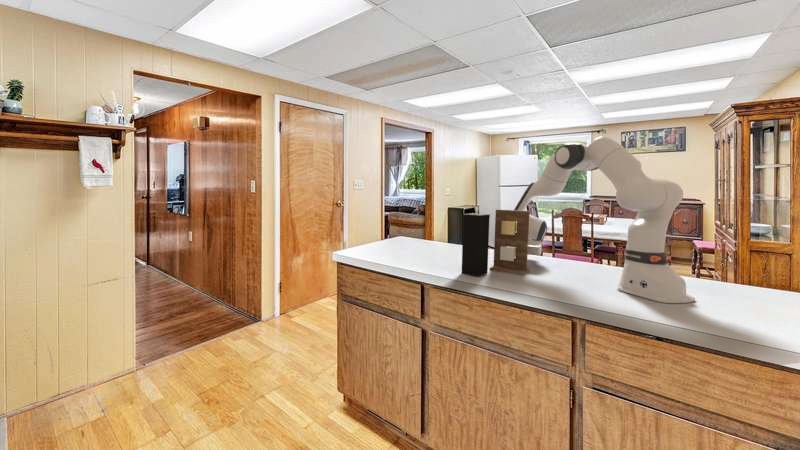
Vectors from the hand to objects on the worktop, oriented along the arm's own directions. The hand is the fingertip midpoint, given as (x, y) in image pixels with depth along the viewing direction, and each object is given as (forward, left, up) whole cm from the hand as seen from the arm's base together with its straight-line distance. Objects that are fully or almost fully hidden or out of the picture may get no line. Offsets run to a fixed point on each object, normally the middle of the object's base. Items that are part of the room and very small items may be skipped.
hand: (513, 250), depth 159 cm
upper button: (-4, +4, +8) cm, 10 cm away
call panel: (-3, +3, -8) cm, 9 cm away
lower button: (-4, +4, -3) cm, 7 cm away
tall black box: (-5, +21, -8) cm, 23 cm away
